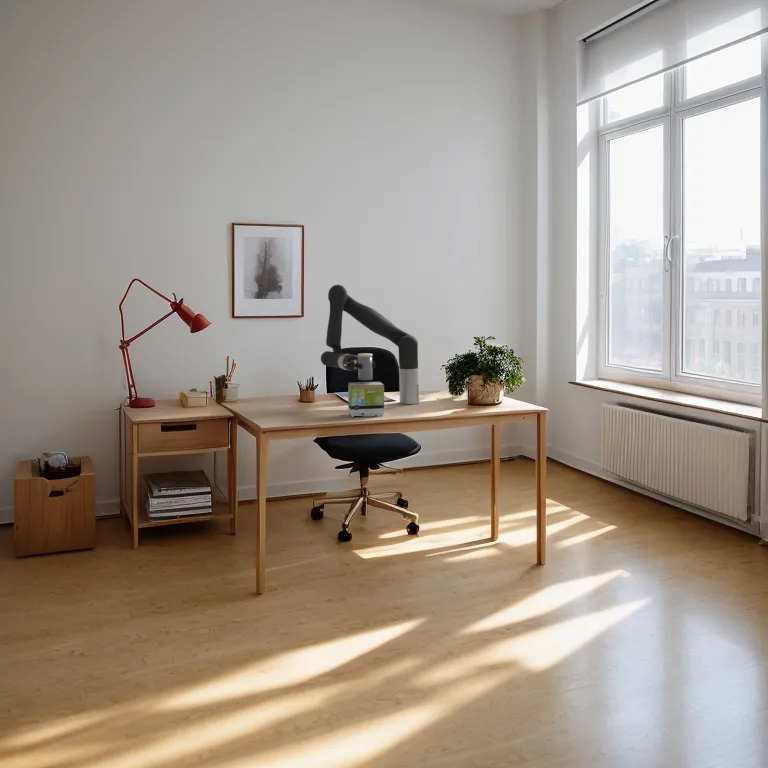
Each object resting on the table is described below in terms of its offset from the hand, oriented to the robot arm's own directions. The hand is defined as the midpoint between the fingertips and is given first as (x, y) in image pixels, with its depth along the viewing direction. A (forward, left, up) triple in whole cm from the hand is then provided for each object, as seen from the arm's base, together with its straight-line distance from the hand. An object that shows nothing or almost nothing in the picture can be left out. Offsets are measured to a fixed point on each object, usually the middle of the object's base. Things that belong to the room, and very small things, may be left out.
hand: (368, 365), depth 360 cm
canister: (+1, -2, -6) cm, 7 cm away
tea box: (+1, -2, -23) cm, 23 cm away
